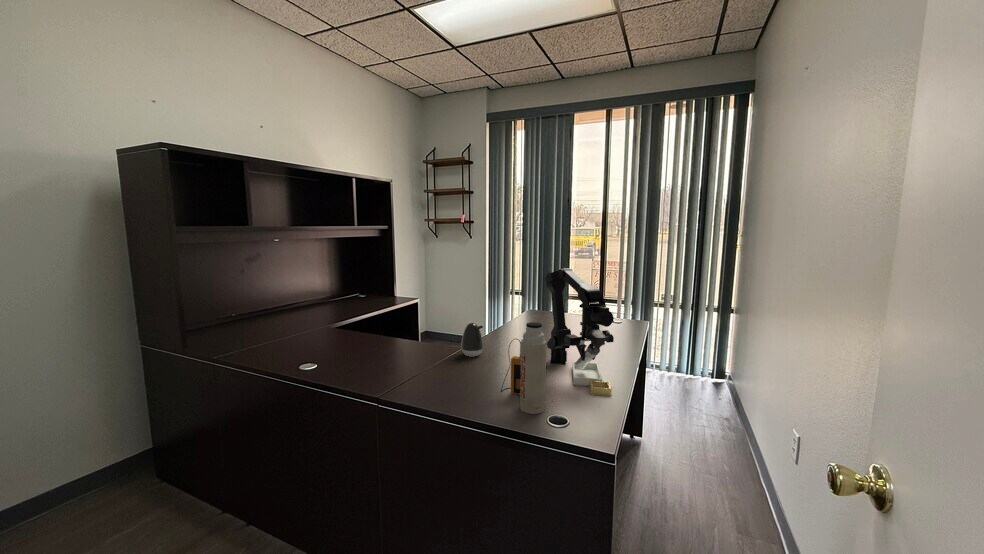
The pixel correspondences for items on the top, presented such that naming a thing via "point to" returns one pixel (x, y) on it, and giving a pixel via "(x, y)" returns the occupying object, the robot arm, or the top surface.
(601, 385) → the socket collar
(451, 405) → the top surface
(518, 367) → the multimeter
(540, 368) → the thermos bottle
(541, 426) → the top surface
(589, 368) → the tray
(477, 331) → the pump dispenser
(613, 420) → the top surface
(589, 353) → the strut
